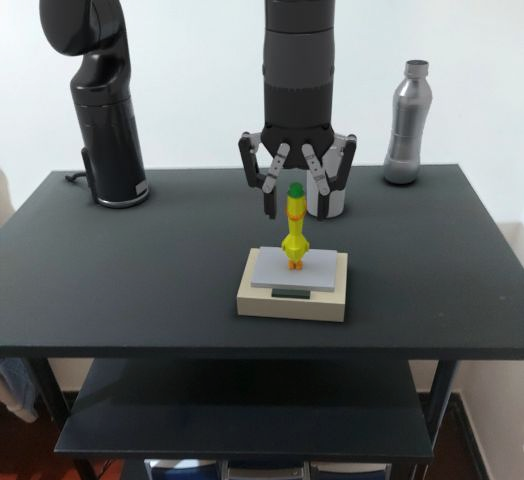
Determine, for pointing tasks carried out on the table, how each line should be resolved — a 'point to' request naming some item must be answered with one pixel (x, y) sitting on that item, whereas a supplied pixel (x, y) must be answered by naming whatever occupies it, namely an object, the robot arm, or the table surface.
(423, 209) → the table surface
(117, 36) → the robot arm
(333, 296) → the scale
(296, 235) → the toy figure
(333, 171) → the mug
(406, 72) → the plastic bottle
